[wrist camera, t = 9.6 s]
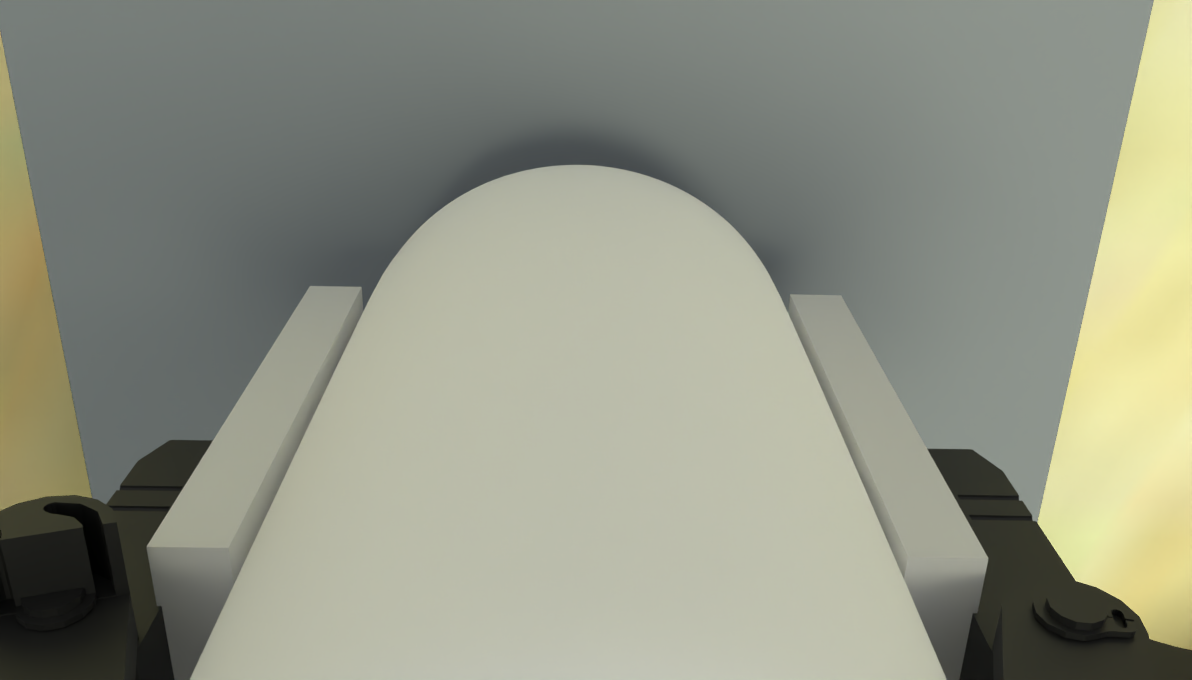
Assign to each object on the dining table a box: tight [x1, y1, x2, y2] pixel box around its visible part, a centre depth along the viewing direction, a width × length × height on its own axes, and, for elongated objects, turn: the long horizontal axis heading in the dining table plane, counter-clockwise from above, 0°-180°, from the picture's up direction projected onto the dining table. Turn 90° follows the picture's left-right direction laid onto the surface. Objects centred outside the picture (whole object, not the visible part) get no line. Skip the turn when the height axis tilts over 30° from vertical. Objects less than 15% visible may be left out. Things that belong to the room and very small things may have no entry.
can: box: [190, 165, 947, 680], centre depth 11 cm, size 6×6×12 cm
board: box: [0, 0, 1154, 522], centre depth 20 cm, size 18×18×1 cm
